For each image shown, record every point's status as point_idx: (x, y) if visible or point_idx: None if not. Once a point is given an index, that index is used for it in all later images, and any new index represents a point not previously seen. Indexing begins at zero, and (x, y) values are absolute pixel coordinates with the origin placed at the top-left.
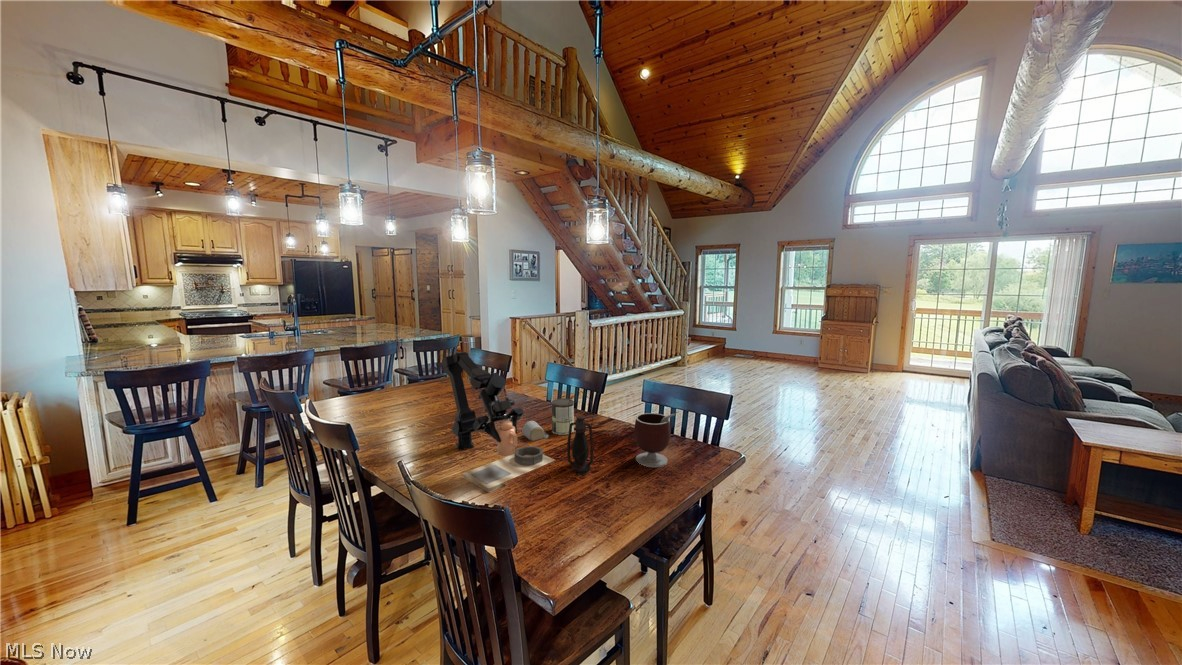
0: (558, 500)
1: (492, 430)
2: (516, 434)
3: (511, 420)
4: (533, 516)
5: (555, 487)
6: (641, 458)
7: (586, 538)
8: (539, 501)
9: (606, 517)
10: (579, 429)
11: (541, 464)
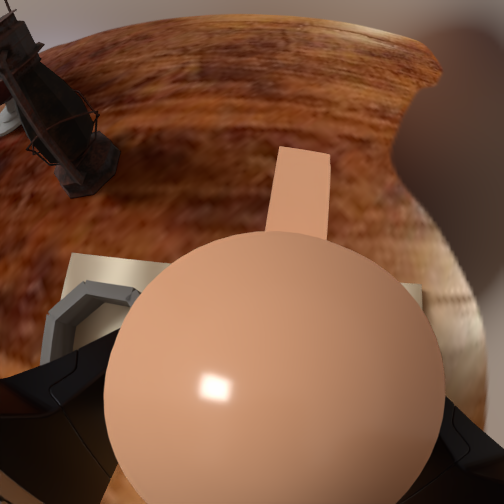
0: (281, 103)
1: (480, 438)
2: (280, 158)
3: (35, 465)
4: (374, 110)
5: (228, 143)
6: (16, 118)
7: (334, 38)
8: (322, 131)
9: (263, 37)
10: (35, 44)
11: (126, 271)
